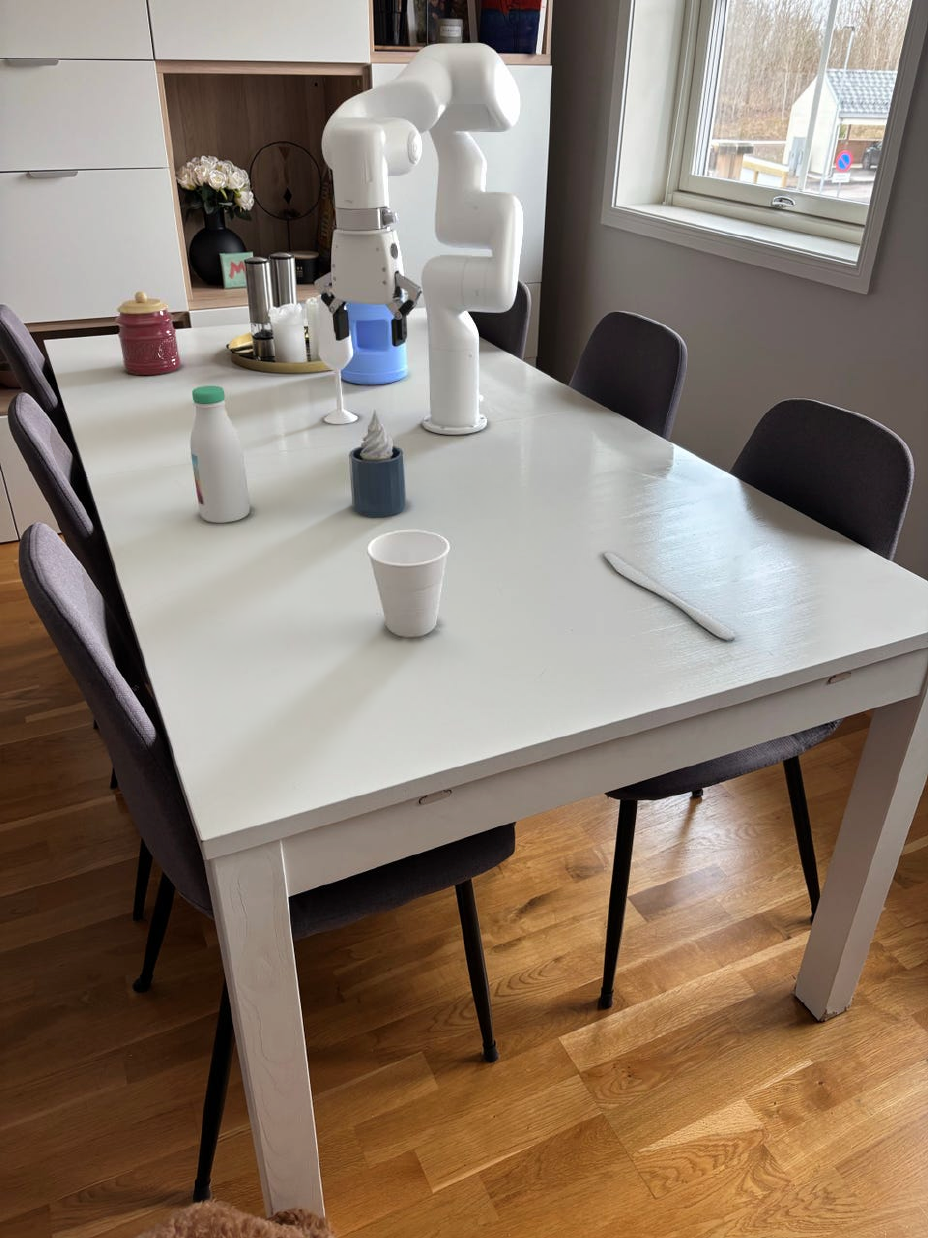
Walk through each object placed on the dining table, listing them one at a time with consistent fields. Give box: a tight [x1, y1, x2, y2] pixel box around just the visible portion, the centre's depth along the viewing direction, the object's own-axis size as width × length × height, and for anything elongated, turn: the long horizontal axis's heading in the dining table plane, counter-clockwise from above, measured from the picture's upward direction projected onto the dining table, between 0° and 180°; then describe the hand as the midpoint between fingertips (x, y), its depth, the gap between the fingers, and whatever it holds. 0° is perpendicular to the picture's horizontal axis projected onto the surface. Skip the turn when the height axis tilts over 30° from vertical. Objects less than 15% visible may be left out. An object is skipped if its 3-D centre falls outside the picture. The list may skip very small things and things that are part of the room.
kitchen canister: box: [114, 291, 181, 376], centre depth 222 cm, size 13×13×18 cm
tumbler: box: [348, 445, 407, 518], centre depth 150 cm, size 8×8×9 cm
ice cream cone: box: [360, 410, 394, 462], centre depth 148 cm, size 5×5×15 cm
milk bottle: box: [189, 385, 251, 524], centre depth 145 cm, size 8×8×20 cm
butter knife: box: [604, 552, 736, 641], centre depth 125 cm, size 1×27×3 cm
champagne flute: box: [318, 292, 358, 425], centre depth 186 cm, size 7×7×24 cm
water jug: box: [340, 293, 408, 386], centre depth 212 cm, size 16×16×28 cm
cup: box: [365, 529, 450, 638], centre depth 116 cm, size 10×10×11 cm
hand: (370, 341), depth 144 cm, fingers open, 9 cm apart
